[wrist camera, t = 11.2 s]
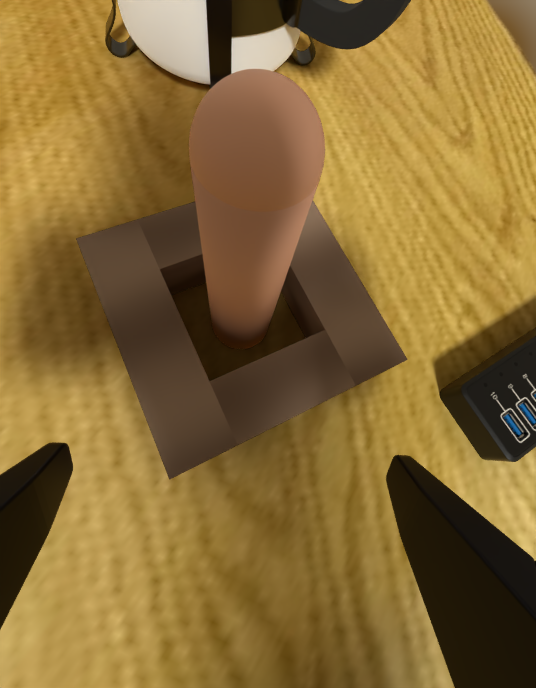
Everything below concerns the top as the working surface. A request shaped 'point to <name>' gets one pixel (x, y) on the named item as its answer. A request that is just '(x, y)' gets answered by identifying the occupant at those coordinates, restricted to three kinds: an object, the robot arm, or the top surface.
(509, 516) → the top surface
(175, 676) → the top surface
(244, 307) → the terracotta dowel
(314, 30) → the coffee press
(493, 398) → the multiport hub
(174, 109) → the top surface
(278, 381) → the brown square frame
